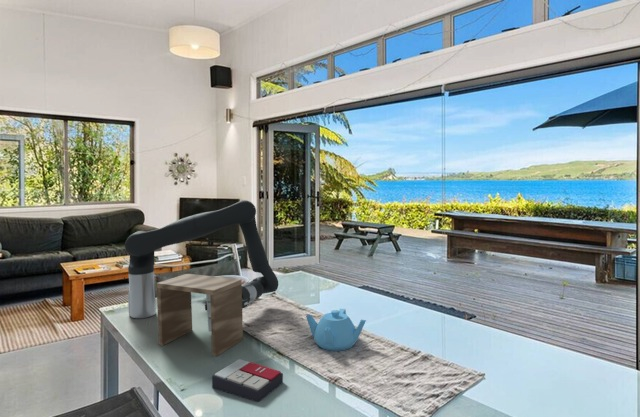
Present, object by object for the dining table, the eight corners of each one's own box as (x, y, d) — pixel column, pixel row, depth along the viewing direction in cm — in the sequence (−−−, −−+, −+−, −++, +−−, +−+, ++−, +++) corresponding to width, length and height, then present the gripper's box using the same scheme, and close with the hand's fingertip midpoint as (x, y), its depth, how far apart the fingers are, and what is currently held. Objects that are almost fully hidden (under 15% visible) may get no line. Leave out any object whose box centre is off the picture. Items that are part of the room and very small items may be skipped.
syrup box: (223, 333, 143) (221, 291, 141) (207, 331, 144) (205, 290, 143) (230, 326, 148) (228, 286, 147) (215, 325, 150) (213, 286, 148)
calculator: (258, 389, 101) (211, 372, 108) (258, 406, 101) (211, 388, 108) (283, 370, 110) (239, 356, 117) (283, 385, 111) (238, 371, 118)
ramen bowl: (262, 294, 192) (261, 277, 191) (225, 308, 173) (225, 289, 172) (222, 287, 205) (222, 271, 205) (185, 299, 186) (184, 281, 185)
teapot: (368, 347, 132) (368, 314, 131) (326, 357, 125) (326, 322, 125) (344, 331, 146) (344, 301, 145) (305, 339, 139) (304, 308, 138)
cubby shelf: (159, 345, 136) (156, 283, 135) (189, 330, 149) (186, 273, 147) (216, 356, 127) (214, 290, 125) (243, 339, 139) (241, 279, 138)
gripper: (226, 284, 161) (197, 296, 146) (258, 287, 155) (230, 300, 140) (227, 303, 162) (198, 317, 147) (258, 307, 156) (231, 322, 141)
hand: (214, 309), depth 143 cm, fingers closed on syrup box, 6 cm apart
